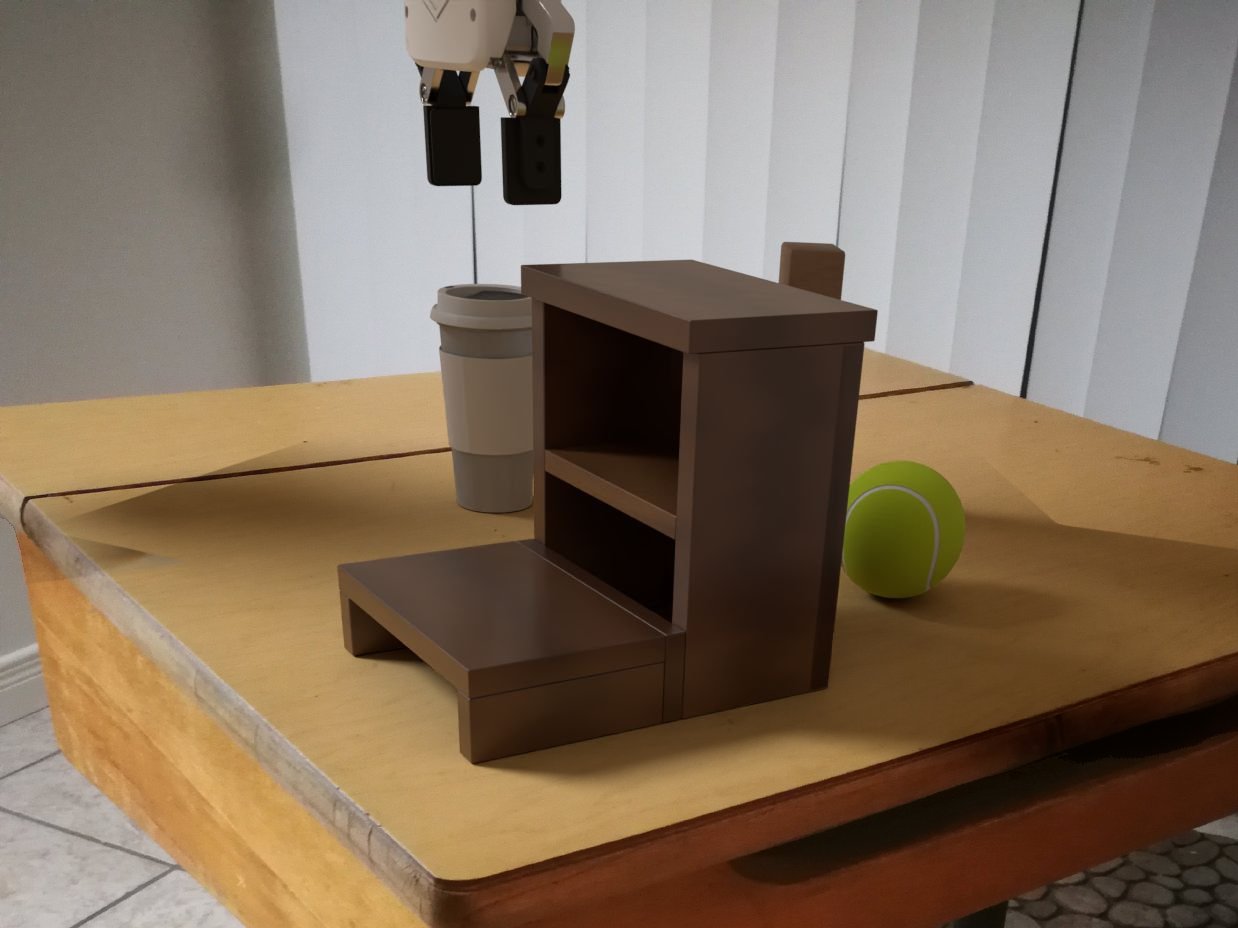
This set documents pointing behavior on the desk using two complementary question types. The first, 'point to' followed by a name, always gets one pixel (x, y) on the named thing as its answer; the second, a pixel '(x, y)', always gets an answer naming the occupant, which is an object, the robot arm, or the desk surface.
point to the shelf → (647, 513)
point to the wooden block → (812, 267)
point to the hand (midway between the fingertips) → (492, 194)
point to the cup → (488, 393)
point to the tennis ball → (901, 529)
